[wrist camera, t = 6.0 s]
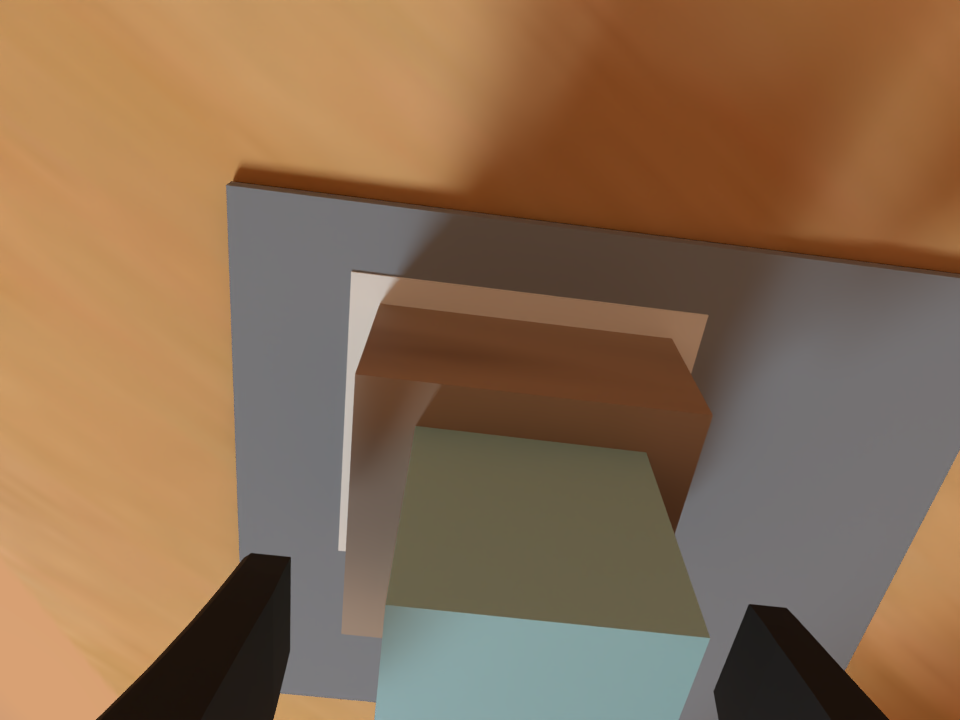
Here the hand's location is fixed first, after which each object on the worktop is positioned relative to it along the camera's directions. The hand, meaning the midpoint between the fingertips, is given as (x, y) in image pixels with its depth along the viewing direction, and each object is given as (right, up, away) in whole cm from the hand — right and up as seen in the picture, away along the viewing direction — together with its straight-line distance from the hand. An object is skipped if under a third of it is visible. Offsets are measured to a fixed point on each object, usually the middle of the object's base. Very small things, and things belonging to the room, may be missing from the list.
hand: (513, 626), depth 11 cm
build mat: (+2, 0, +6) cm, 6 cm away
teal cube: (0, +1, +2) cm, 2 cm away
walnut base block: (0, +2, +5) cm, 5 cm away
